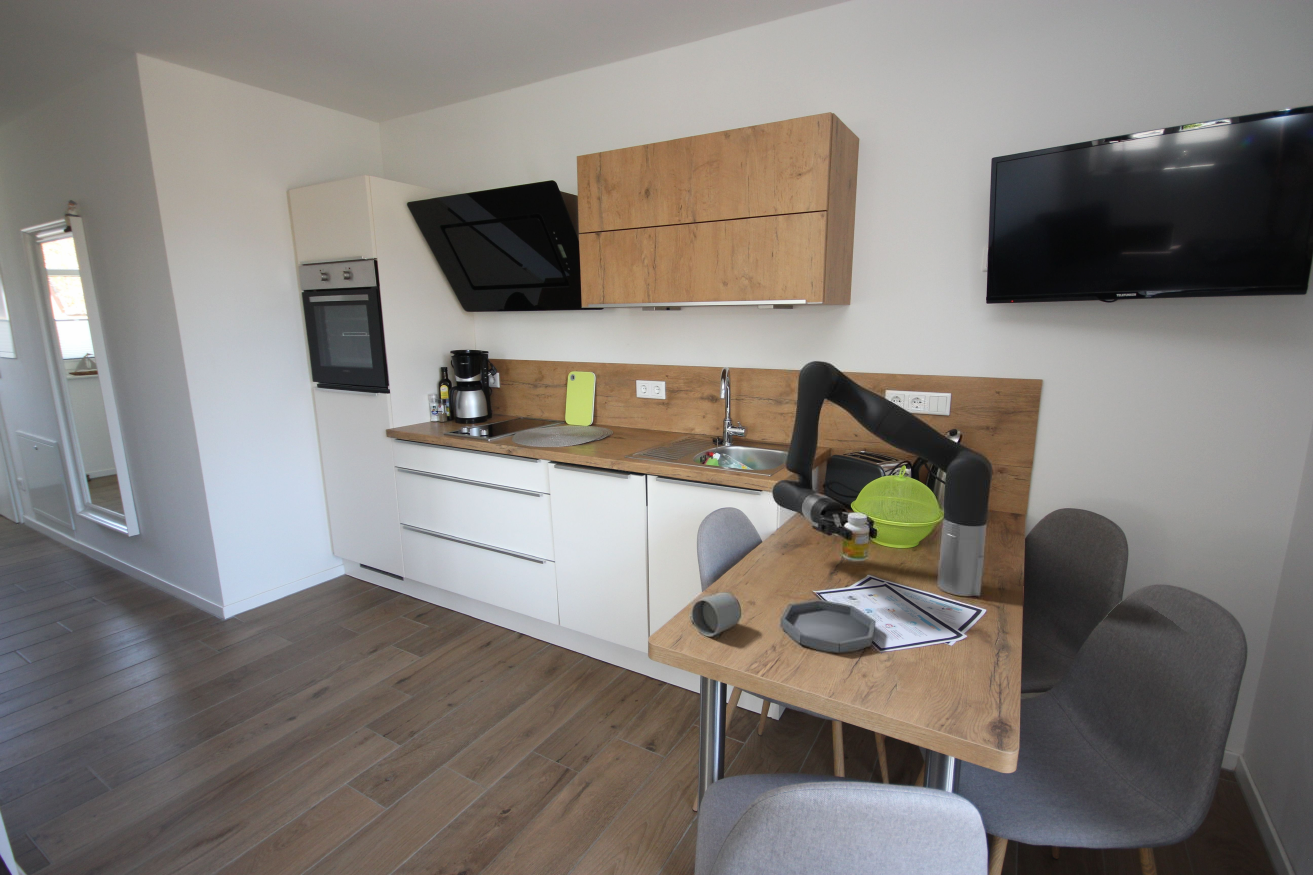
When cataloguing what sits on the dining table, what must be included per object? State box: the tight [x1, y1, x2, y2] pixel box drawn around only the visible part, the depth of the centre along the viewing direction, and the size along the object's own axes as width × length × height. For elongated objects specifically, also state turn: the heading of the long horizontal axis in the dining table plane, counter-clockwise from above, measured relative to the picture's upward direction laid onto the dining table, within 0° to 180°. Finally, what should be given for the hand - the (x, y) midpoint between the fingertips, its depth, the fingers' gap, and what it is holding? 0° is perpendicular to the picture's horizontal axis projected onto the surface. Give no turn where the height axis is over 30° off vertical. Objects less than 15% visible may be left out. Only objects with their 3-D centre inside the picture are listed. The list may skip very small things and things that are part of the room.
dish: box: [780, 598, 877, 654], centre depth 125 cm, size 18×18×2 cm
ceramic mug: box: [689, 592, 742, 638], centre depth 127 cm, size 11×8×8 cm
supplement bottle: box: [841, 512, 870, 562], centre depth 134 cm, size 5×5×10 cm
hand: (863, 535), depth 131 cm, fingers closed on supplement bottle, 5 cm apart
